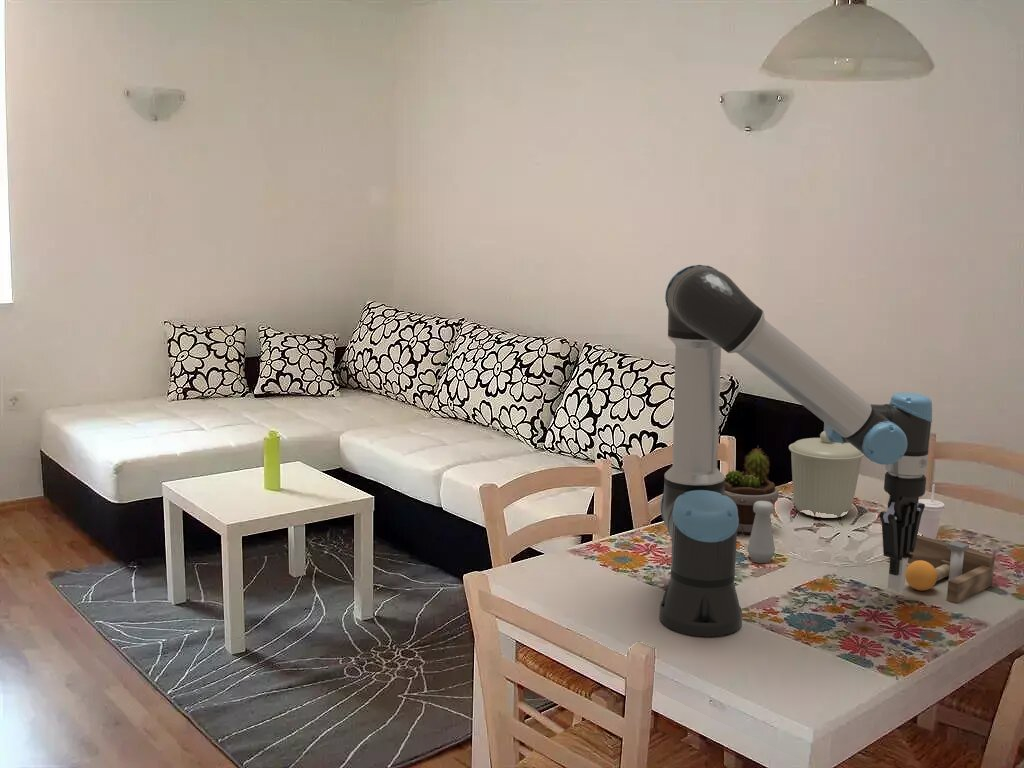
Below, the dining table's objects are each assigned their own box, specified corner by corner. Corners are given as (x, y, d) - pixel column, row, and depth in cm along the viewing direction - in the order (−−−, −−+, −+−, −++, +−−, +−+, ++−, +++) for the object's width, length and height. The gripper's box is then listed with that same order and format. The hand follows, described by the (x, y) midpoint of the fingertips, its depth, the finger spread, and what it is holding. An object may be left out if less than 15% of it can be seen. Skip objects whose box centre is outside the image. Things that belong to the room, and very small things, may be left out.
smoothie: (943, 549, 236) (949, 489, 234) (914, 547, 237) (919, 487, 235) (937, 539, 243) (942, 481, 240) (908, 538, 244) (913, 479, 241)
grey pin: (957, 589, 213) (961, 547, 211) (943, 584, 215) (947, 543, 213) (965, 585, 214) (969, 544, 213) (950, 581, 217) (954, 540, 215)
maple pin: (934, 574, 213) (956, 563, 218) (920, 570, 215) (942, 559, 221) (933, 588, 214) (955, 577, 219) (919, 584, 216) (941, 573, 221)
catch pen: (956, 603, 205) (959, 574, 204) (873, 577, 219) (875, 549, 217) (994, 584, 215) (997, 556, 214) (912, 560, 229) (915, 534, 228)
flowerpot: (746, 544, 238) (751, 458, 234) (699, 526, 250) (703, 444, 247) (790, 533, 246) (795, 450, 242) (742, 516, 258) (747, 437, 255)
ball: (946, 568, 211) (936, 596, 211) (920, 557, 215) (910, 584, 216) (932, 565, 207) (921, 594, 207) (905, 554, 212) (895, 582, 212)
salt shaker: (772, 556, 230) (775, 499, 228) (776, 565, 225) (779, 506, 222) (745, 554, 231) (748, 497, 229) (748, 563, 225) (751, 505, 223)
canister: (822, 528, 250) (828, 442, 246) (769, 508, 265) (774, 427, 261) (876, 518, 258) (882, 434, 254) (822, 499, 274) (827, 420, 270)
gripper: (906, 483, 196) (895, 602, 200) (941, 471, 204) (930, 586, 208) (869, 474, 201) (860, 591, 206) (905, 464, 210) (895, 576, 214)
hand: (895, 588), depth 207 cm, fingers closed
